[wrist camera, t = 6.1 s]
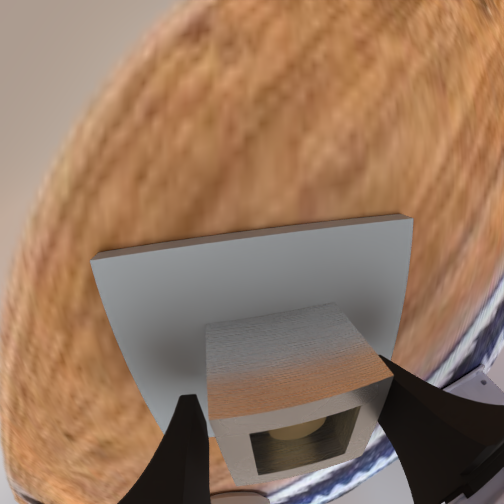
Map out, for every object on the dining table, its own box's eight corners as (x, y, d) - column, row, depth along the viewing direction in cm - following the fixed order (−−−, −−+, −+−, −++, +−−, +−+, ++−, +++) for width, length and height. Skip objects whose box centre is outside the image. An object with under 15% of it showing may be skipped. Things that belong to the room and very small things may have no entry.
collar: (333, 301, 12) (394, 375, 7) (326, 386, 13) (361, 455, 9) (205, 323, 11) (208, 420, 6) (225, 406, 13) (236, 486, 8)
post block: (400, 213, 12) (477, 243, 7) (373, 387, 16) (406, 438, 11) (98, 252, 10) (40, 310, 6) (167, 427, 14) (164, 491, 10)
